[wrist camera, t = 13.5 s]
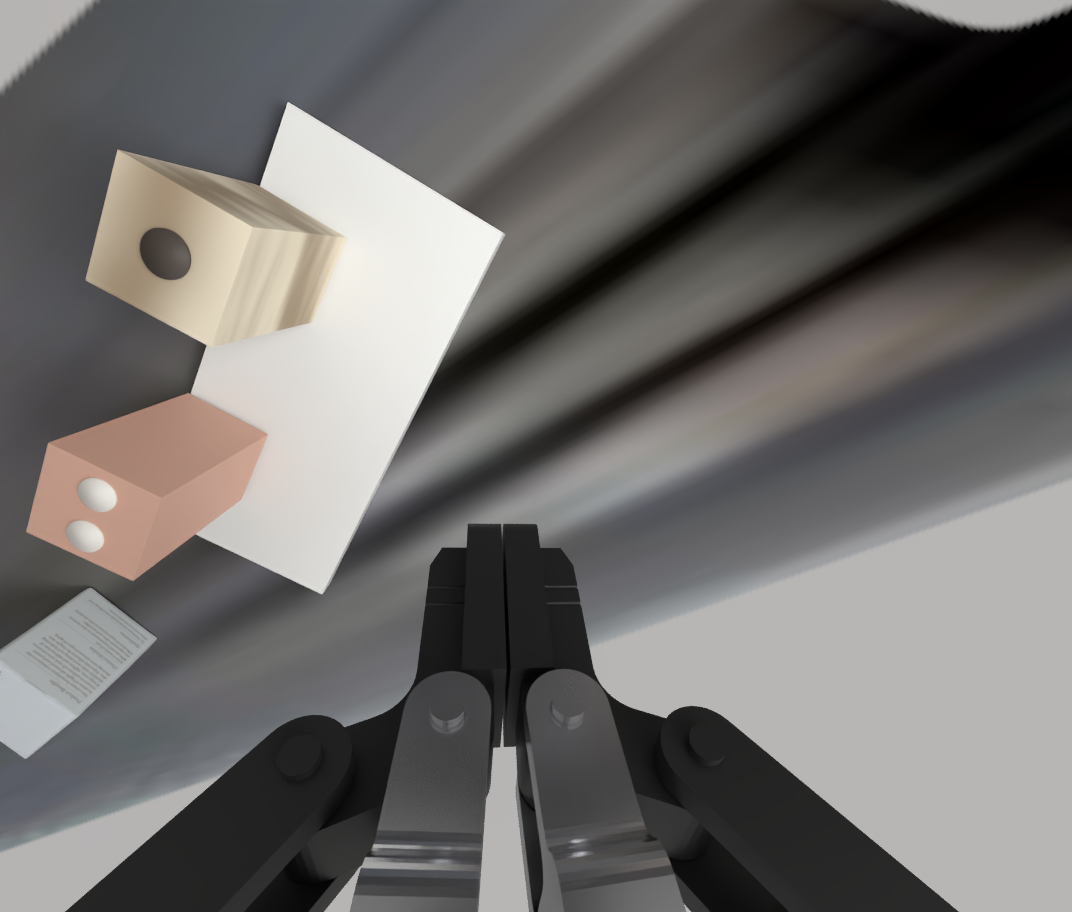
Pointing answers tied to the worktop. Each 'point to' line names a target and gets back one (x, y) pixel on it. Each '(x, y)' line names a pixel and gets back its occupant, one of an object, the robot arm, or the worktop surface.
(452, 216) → the keypad board
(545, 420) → the worktop surface
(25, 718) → the product box
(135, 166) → the key one
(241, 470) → the key two
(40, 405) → the worktop surface
